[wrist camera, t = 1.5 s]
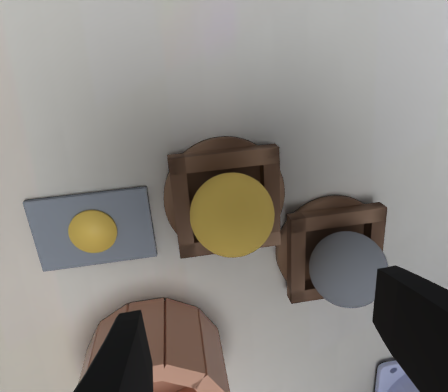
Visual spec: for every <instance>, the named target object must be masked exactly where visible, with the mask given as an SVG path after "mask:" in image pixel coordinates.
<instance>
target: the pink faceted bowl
mask: <svg viewBox="0 0 448 392" xmlns="http://www.w3.org/2000/svg"><path fill="white" fill-rule="evenodd" d="M136 310H141V312H142V316H143V321H144V326H145V330H146V335H147V340H148V344H149V349H150V354H151V358H152V363H153V392H230V389H229V384H228V379H227V374H226V368H225V363H224V358H223V353H222V347H221V342H220V337H219V332H218V329H217V327H216V326H215V325H214V324H213V323H212V322H211V321H210V320H209V319H208V318H207V316H206V315H205V314H204V313H203V312H202V311H201V310H200V309H197V307H195V306H192V305H188V304H185V303H182V302H178V301H175V300H172V299H168V298H166V299H165V301H164V298H159V299H152V300H145V301H138V302H132V303H129V305H128V304H126V305H124V306H123V307H122V308H120V309H119V310H117V311H116V312H114V313H113V314H111V315H110V316H108V317H107V318H105V319H104V320H102V321H101V322H100V324H98V326H97V328H96V331H95V333H94V335H93V337H92V340H91V342H90V344H89V346H88V349H87V352H86V356H85V360H84V363H83V367H82V371H81V375H80V379H79V382H80V381H81V379H82V378H83V376H84V374H85V373H86V371H87V369H88V368H89V366H90V364H91V363H92V361H93V359H94V358H95V356H96V354H97V353H98V351H99V349H100V347H101V345H102V344H103V342H104V340H105V338H106V336H107V334H108V332H109V331H110V329H111V327H112V325H113V323H114V321H115V319H116V317H117V316H118V315H119V313H125V312H130V311H136ZM79 382H78V384H79Z"/></svg>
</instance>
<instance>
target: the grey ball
mask: <svg viewBox="0 0 448 392" xmlns="http://www.w3.org/2000/svg"><path fill="white" fill-rule="evenodd" d="M385 267H388V263H387V260H386V257H385V255H384V253H383V251H382V250H381V248H380V247H379V246H378V245H377V244H376V243H375V242H374V241H373V240H371V239H370V238H369V237H367V236H365V235H363V234H360V233H357V232H352V231H341V232H336V233H333V234H330V235H328V236H326V237H325V238H323V239H322V240H321V241H320V242H319V243H318V244H317V245H316V247H315V248H314V250H313V252H312V254H311V257H310V261H309V273H310V278H311V281H312V283H313V285H314V287H315V289H316V290H317V291H318V293H319V294H320V295H321V296H322V297H323V298H325V299H326V300H327V301H329V302H331V303H332V304H335V305H337V306H340V307H345V308H358V307H362V306H365V305H368V304H370V303H371V302H373V301H374V299H375V289H376V278H377V269H379V268H385Z"/></svg>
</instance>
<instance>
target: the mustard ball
mask: <svg viewBox="0 0 448 392" xmlns="http://www.w3.org/2000/svg"><path fill="white" fill-rule="evenodd" d="M274 217H275V212H274V206H273V202H272V199H271V197H270V195H269V193H268V191H267V190H266V189H265V188H264V186H263V185H262V184H260V183H259V182H258V181H257V180H255V179H254V178H252V177H250V176H248V175H245V174H241V173H223V174H220V175H217V176H214V177H212V178H211V179H209V180H207V181H206V182H205V183H204V184H203V185H202V186H201V187H200V188H199V189H198V190H197V192H196V194H195V195H194V198H193V200H192V203H191V207H190V223H191V227H192V230H193V232H194V234H195V236H196V238H197V239H198V241H199V242H200V243H201V244H202V245H203V246H204V247H205V248H206V249H208V250H209V251H211V252H212V253H214V254H217V255H220V256H223V257H241V256H245V255H248V254H250V253H252V252H254V251H255V250H257V249H258V248H260V247H261V246H262V245H263V244H264V242H265V241H266V240H267V238H268V237H269V235H270V233H271V231H272V228H273V224H274Z"/></svg>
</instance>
